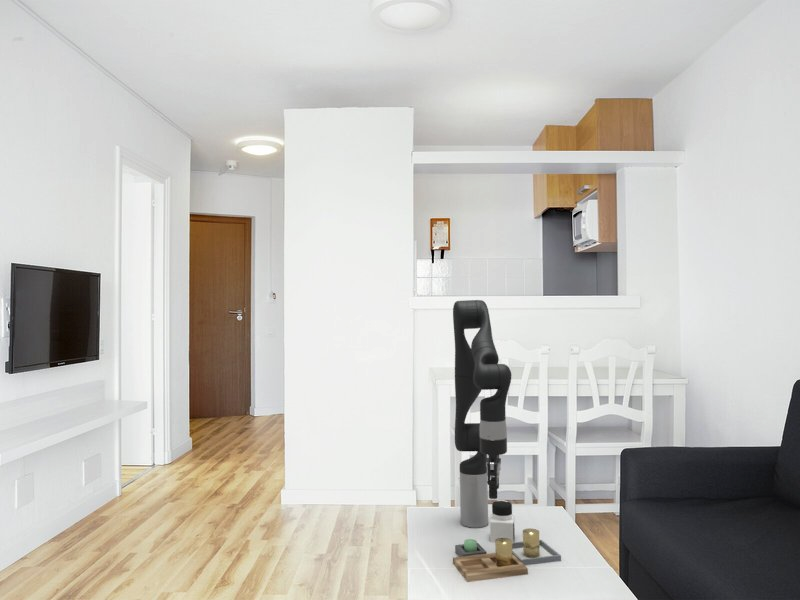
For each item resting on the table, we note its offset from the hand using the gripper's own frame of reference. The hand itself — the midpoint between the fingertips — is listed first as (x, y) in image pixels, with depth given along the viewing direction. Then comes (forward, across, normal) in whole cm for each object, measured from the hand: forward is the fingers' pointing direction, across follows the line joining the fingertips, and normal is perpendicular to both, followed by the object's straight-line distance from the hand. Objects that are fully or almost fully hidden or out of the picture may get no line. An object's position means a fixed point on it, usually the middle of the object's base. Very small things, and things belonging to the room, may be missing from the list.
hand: (494, 493), depth 170 cm
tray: (+20, -7, +10) cm, 24 cm away
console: (+20, -3, -7) cm, 22 cm away
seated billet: (+19, +3, +3) cm, 19 cm away
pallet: (+20, +5, -1) cm, 21 cm away
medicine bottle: (+21, -18, +1) cm, 28 cm away
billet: (+20, -7, +10) cm, 23 cm away
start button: (+18, -3, -7) cm, 20 cm away
